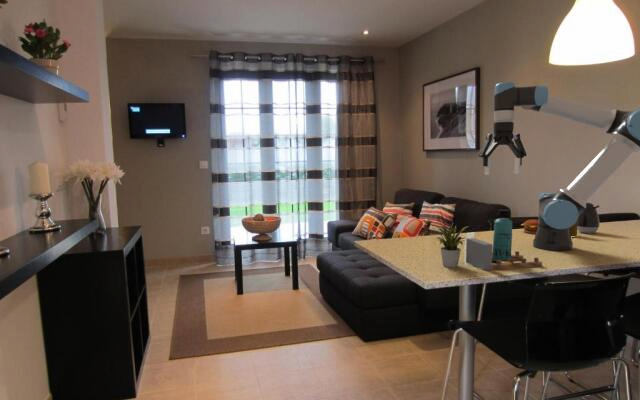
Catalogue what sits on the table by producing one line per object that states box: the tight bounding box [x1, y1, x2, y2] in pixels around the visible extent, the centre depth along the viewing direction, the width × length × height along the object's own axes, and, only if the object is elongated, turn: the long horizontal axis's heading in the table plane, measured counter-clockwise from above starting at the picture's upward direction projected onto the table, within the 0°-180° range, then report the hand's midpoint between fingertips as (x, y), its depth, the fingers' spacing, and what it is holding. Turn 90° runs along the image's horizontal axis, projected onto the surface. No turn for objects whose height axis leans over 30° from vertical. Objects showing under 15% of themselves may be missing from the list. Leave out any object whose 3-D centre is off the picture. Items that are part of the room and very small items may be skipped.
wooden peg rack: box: [492, 250, 543, 271], centre depth 163 cm, size 20×12×3 cm, turn 101°
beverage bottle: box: [492, 209, 514, 262], centre depth 162 cm, size 6×7×20 cm
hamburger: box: [520, 219, 538, 235], centre depth 225 cm, size 9×10×7 cm
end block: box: [465, 237, 493, 271], centre depth 160 cm, size 3×12×9 cm, turn 11°
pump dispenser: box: [577, 202, 600, 234], centre depth 222 cm, size 10×10×15 cm
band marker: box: [492, 255, 511, 265], centre depth 162 cm, size 3×12×1 cm, turn 11°
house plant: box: [432, 222, 469, 268], centre depth 161 cm, size 14×14×16 cm
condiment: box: [569, 219, 578, 236], centre depth 214 cm, size 7×8×12 cm
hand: (502, 174), depth 182 cm, fingers open, 13 cm apart
